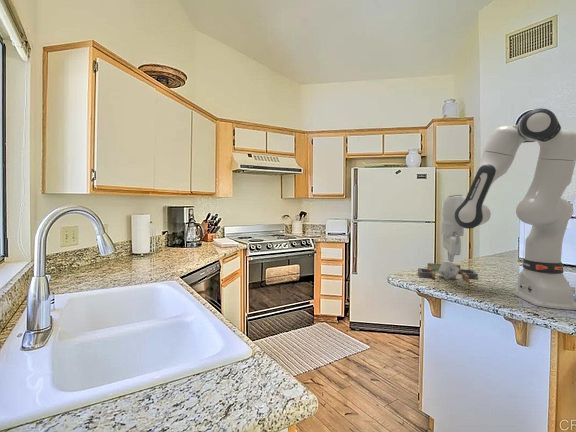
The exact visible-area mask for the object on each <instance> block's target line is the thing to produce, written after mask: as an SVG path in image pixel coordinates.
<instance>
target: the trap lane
mask: <svg viewBox="0 0 576 432" xmlns="http://www.w3.org/2000/svg"><path fill="white" fill-rule="evenodd" d="M426 264H427V266H426V268H420V267H418V269H417V274H418V276H419V277H418V278H421V279H431V280H436V277H435V276H436V274H435V271H437V273H439V272H438V270H439V268H440V266H441V264H442V263H433V262H427V263H426ZM454 265H455V266H456V267H458V268H459V272H458V274H457V275H460V274H461V278H462V279H463V281H464V280H465V281H466V282H465V281H464V282H465V283H469V282H470V280H478V279H479V278H478V277H479V276H478V275H479V274H478V273H477V272H476V271H474V269H466V268H461V264H454Z"/></svg>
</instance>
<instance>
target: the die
mask: <svg viewBox="0 0 576 432" xmlns="http://www.w3.org/2000/svg"><path fill="white" fill-rule="evenodd" d="M440 264H441V266H440V268H439V270H438V272H437V273H438V274H439V275H440V276H441V277H442V278H444V279H445V280H455V279H456V277H457V276H458V275H459V274H458V272H459V268H458V267H456V266H455V265H456V264H455V263H454V262H449V261H444V262H443V261H442V262H441V263H440Z"/></svg>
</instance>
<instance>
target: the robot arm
mask: <svg viewBox="0 0 576 432" xmlns="http://www.w3.org/2000/svg"><path fill="white" fill-rule="evenodd" d="M560 124H561V123H560V122H559V120H558V118H557V116H556V115H555V113H554V112H553V111H551V110H550V109H548V108H543V107H542V108H534V109H531V110H529V111H528V112H527V113H525V114H524V115H522V117H521V119H520V121H519V122H518V123H517V124H515V125H501V126H498V127H495V128H494V130H493V132H492V133H491V135H490V136H489V138H488V141H487V143H486V145H485V147H484V150H483V152H482V154H481V157H480V161H479V164H478V168H477V171H476V173H475V176H474V179H473V181H472V182H471V186H470V188H469V190H468V192H467V194H466V196H465V195H463V194H454V195H449V196H447V197H446V198H445V199H444V201H443V207H442V218H443V219H442V223H441V234H442V245H443V248H444V249H445V250H446V251H447V260H448V261H447V262H452V263H454V258H455V257H456V256H460V255H461V252H462V251H461V250H462V249H461V247H462V241H461V237H463V236H464V229H474V228H476V227H478V226H482V225H484V224H486V223H487V222H488V221H489V220H490V218H491V215H492V214H491V210H490V208H489V207H488V206H487V205H485V204H484V202H485V201H486V197H487V195H488V194H489V193H488V192H489V191H490V188H491V186H492V185H493V183H494V182H495V181H496V180H498V179H499V178H500V177H503V175H505V174H506V173H507V172H508V171H509V169H510V168H511V166H512V164H513V162H514V160H515V158H516V155H517V152H518V150H519V148H520V146H521V145H522V144H523V143H524V144H525V143H534V142H537V143H538V145H539V153H538V157H537V162H536V165H535V166H536V167H535V171H534V175H533V179H532V181H531V183H530V186H529V188H528V190H527V192H526V194H525V195H524V198H523V199H522V200H521V201H520V202H519V203H518V204H517V206H516V207H515V208H516V209H515V214H516V217H517V218H518V219H519V220H520V221H521V222H523V223H525V224H527V225H531V226H532V227H531V229H530V231H529V234H528V235H527V237H526V238H525V243H524V244H525V245H524V246H525V247H524V258H523V260H522V268H523V269H522V270H521V271H519V273H518V275H517V282H516V283H517V284H516V290H512V291H511V294H512V295H514V296H516V297H518V298H519V299H522V300H524V301H525V302H528V303H529V304H532V305H534V306H537V307H543V308H548V309H556V310H557V309H558V310H569V311H570V310H572V311H574V310H575V311H576V300H575V299H574V294H575V293H576V287H574V286H571V285H570V283H569V281H568V280H567V278H566V277H565V275H564V272H565V271H564V266H563V262H562V252H563V251H562V250H563V242H564V237H565V234H566V230H567V227H568V224H569V221H570V219H571V217H572V216H573V215H574V207H573V205H572V204H571V202H570V201H568V200H566V199H564V198H562V196H563V194H564V192H565V190H566V188H568V186H569V185H570V184H571V182H572V180H573V179H572V178H573V175H574V172H575V171H574V170H575V166H576V132H575V131H573V130H570V129H567V128H566V129H565V128H564V129H562V127H561V125H560Z"/></svg>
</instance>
